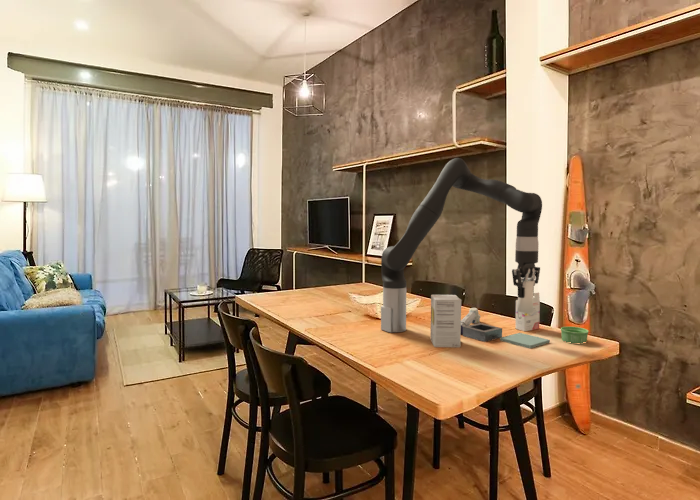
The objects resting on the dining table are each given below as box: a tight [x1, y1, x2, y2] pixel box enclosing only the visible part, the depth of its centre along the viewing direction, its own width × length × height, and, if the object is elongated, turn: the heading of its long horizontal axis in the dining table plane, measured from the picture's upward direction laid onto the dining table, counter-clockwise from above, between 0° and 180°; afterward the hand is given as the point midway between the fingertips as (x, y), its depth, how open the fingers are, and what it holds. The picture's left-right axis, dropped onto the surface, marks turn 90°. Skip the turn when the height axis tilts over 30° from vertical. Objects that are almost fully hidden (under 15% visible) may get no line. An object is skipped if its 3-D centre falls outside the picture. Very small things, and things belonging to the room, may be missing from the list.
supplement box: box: [430, 294, 462, 348], centre depth 154 cm, size 10×9×17 cm
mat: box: [499, 332, 551, 349], centre depth 157 cm, size 12×12×1 cm
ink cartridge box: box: [515, 292, 541, 332], centre depth 174 cm, size 9×5×15 cm, turn 117°
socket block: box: [462, 322, 503, 343], centre depth 163 cm, size 10×10×4 cm
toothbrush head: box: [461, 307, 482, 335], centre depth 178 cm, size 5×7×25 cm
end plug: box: [517, 280, 535, 313], centre depth 156 cm, size 5×5×11 cm
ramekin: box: [560, 325, 589, 344], centre depth 157 cm, size 9×9×4 cm
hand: (525, 296), depth 156 cm, fingers closed on end plug, 5 cm apart
